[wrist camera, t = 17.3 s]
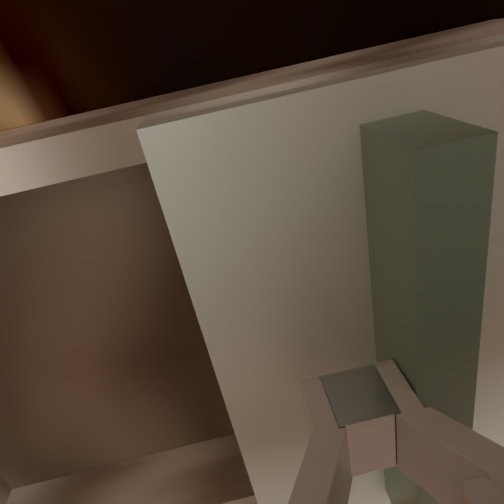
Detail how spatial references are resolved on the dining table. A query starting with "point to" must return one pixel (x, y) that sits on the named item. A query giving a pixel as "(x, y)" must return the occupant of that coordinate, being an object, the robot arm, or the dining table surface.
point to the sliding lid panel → (345, 248)
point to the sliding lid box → (123, 304)
